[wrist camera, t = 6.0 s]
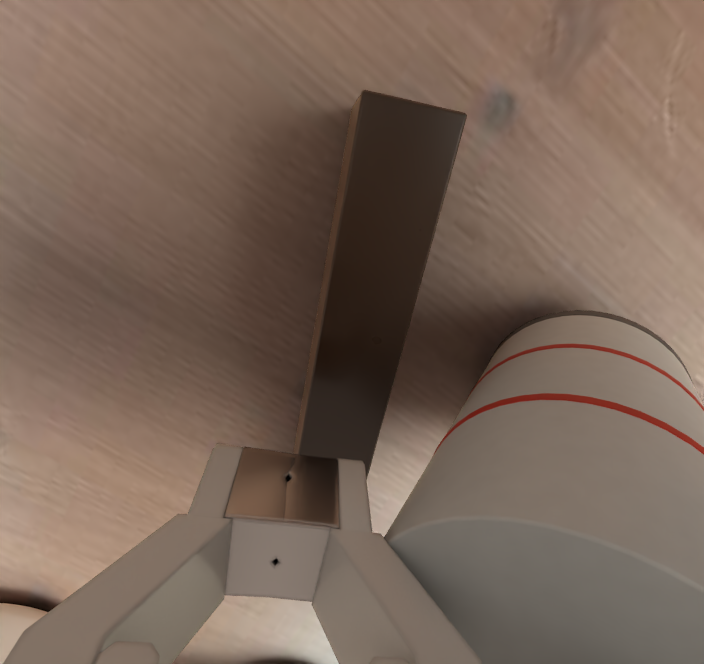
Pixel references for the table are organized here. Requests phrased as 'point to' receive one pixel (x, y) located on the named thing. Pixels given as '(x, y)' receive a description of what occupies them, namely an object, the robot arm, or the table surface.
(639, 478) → the white striped cylinder
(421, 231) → the rail
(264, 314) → the table surface
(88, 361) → the table surface
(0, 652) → the mug
